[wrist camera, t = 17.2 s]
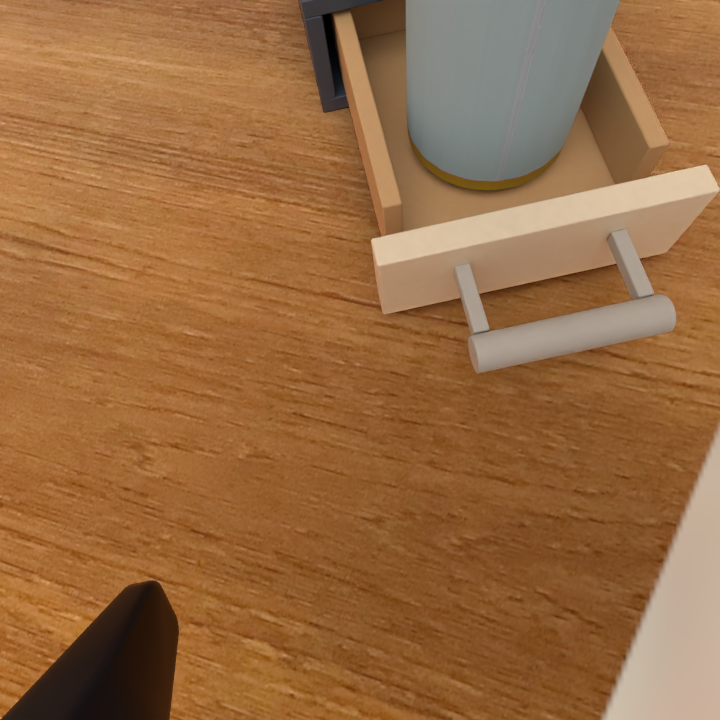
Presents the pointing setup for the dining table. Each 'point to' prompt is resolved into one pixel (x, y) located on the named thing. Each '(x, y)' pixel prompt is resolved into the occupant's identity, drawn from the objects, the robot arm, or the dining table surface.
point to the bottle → (498, 83)
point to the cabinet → (326, 48)
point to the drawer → (518, 204)
